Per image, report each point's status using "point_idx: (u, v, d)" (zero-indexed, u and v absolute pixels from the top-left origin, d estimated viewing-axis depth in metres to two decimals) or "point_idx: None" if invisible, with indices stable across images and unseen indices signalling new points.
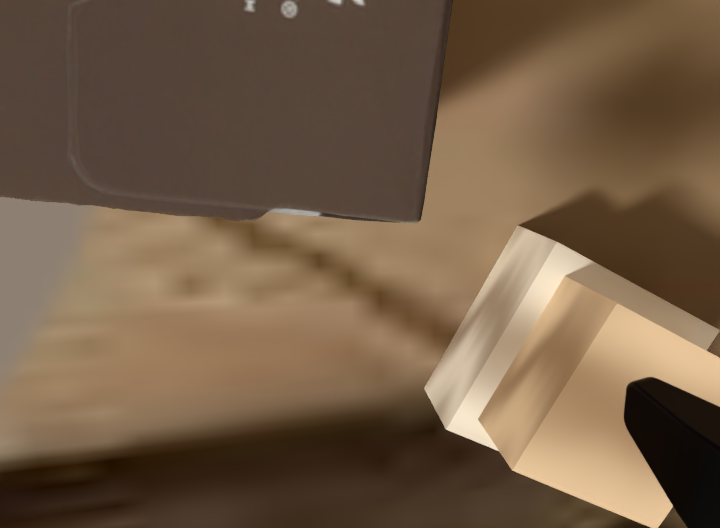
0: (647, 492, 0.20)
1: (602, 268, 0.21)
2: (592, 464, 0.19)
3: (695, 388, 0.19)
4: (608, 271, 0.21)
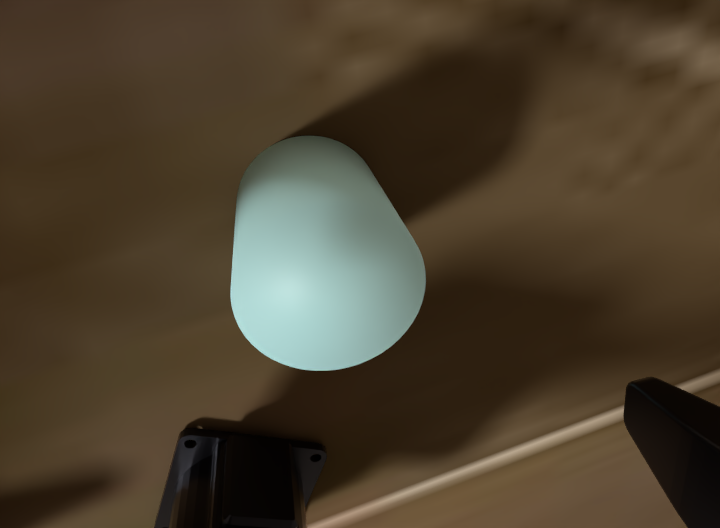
0: None
1: None
2: None
3: None
4: None
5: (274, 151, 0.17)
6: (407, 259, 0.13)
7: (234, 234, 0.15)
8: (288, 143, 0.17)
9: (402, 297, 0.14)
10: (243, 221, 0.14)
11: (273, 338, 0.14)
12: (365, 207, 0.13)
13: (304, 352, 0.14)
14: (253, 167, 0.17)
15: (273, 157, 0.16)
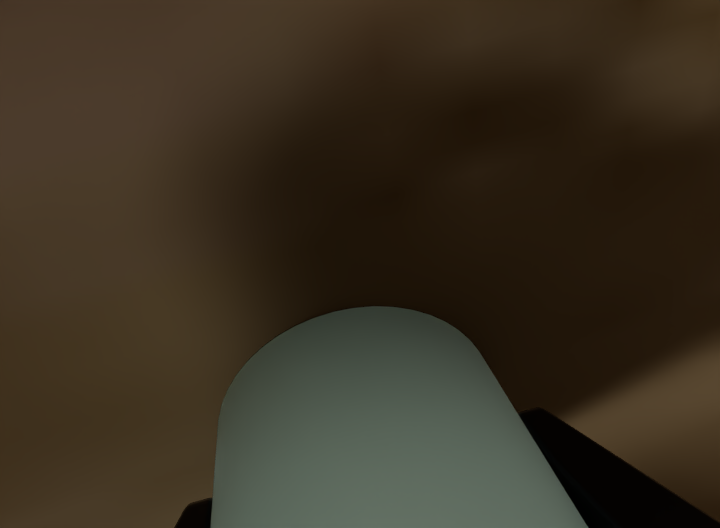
0: None
1: None
2: None
3: None
4: None
5: (297, 359, 0.08)
6: None
7: None
8: (327, 337, 0.08)
9: None
10: None
11: None
12: None
13: None
14: (251, 389, 0.08)
15: (295, 384, 0.07)
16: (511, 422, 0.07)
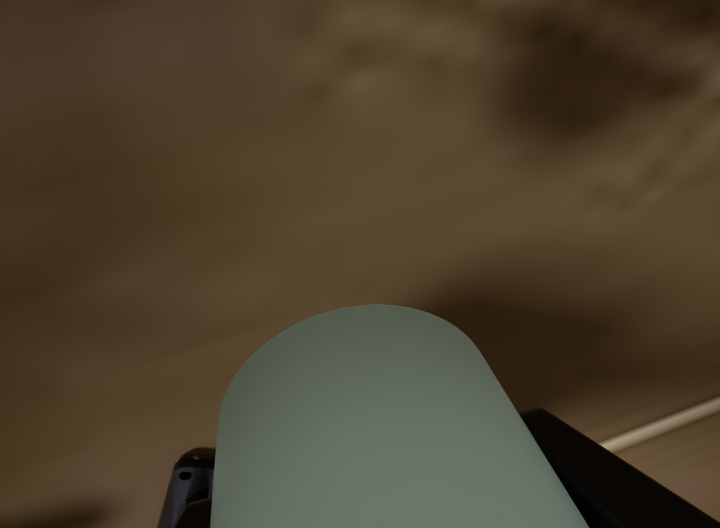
0: None
1: None
2: None
3: None
4: None
5: (297, 357, 0.08)
6: None
7: None
8: (326, 334, 0.08)
9: None
10: None
11: None
12: None
13: None
14: (251, 387, 0.08)
15: (295, 382, 0.07)
16: (510, 419, 0.07)
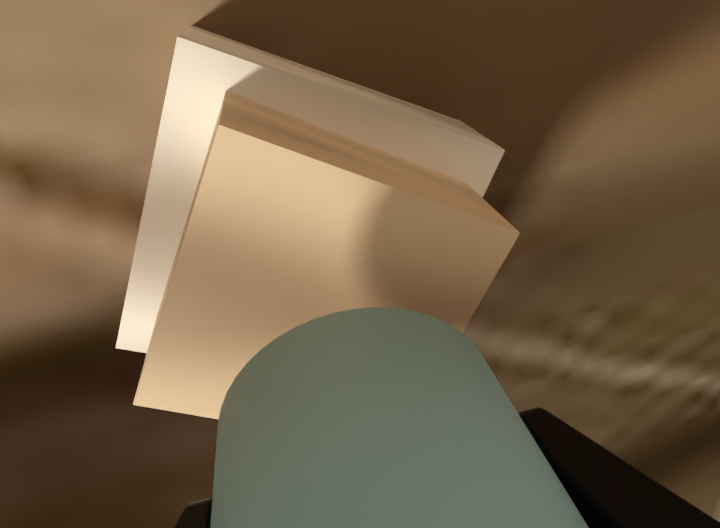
0: None
1: (277, 74, 0.13)
2: None
3: (408, 257, 0.12)
4: (290, 78, 0.13)
5: (297, 361, 0.08)
6: None
7: None
8: (327, 338, 0.08)
9: None
10: None
11: None
12: None
13: None
14: (251, 391, 0.08)
15: (297, 386, 0.07)
16: (513, 424, 0.07)
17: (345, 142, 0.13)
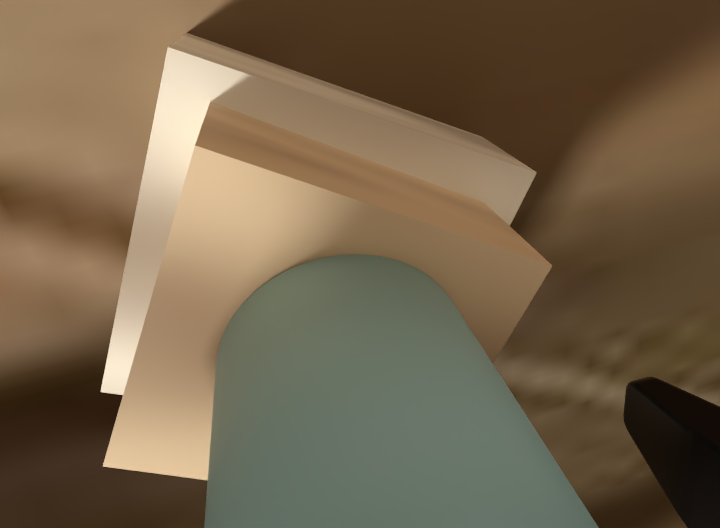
0: None
1: (282, 89, 0.11)
2: None
3: None
4: (297, 93, 0.11)
5: (286, 296, 0.09)
6: None
7: (206, 505, 0.07)
8: (313, 277, 0.09)
9: None
10: None
11: None
12: None
13: None
14: (246, 324, 0.09)
15: (285, 315, 0.08)
16: (472, 346, 0.08)
17: (348, 160, 0.11)
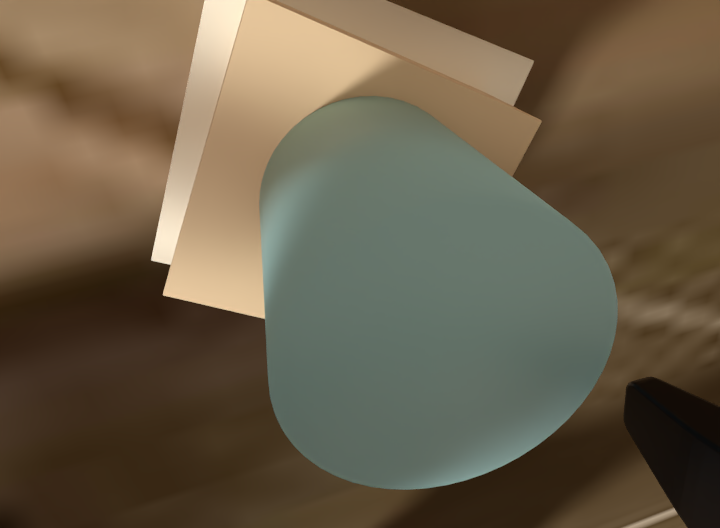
0: None
1: None
2: None
3: None
4: None
5: (321, 119, 0.11)
6: (590, 301, 0.07)
7: (264, 254, 0.09)
8: (342, 107, 0.11)
9: (570, 366, 0.08)
10: (284, 234, 0.08)
11: (343, 444, 0.08)
12: (532, 206, 0.06)
13: (393, 462, 0.08)
14: (287, 145, 0.11)
15: (321, 127, 0.10)
16: None
17: (367, 41, 0.13)
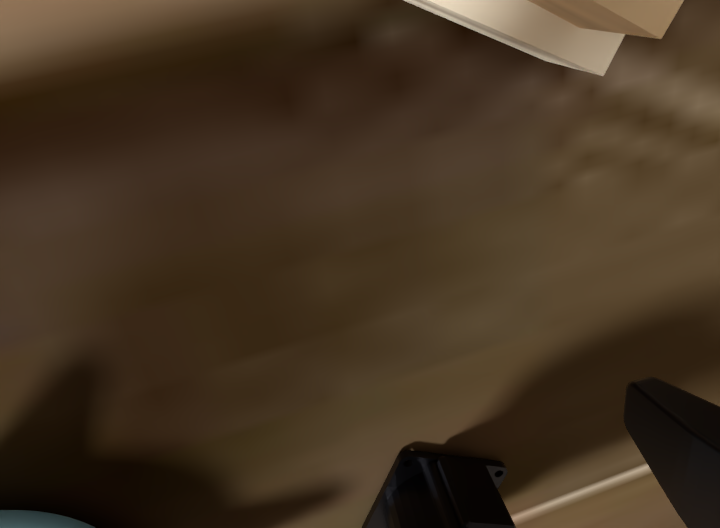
0: None
1: None
2: None
3: None
4: None
5: None
6: None
7: None
8: None
9: None
10: None
11: None
12: None
13: None
14: None
15: None
16: None
17: None
